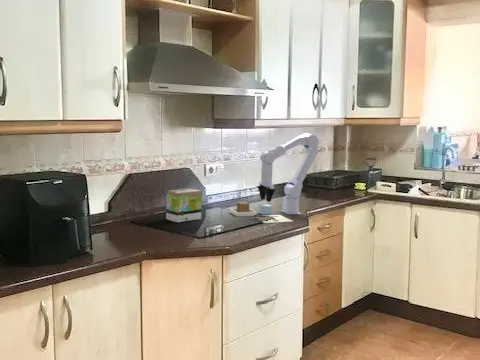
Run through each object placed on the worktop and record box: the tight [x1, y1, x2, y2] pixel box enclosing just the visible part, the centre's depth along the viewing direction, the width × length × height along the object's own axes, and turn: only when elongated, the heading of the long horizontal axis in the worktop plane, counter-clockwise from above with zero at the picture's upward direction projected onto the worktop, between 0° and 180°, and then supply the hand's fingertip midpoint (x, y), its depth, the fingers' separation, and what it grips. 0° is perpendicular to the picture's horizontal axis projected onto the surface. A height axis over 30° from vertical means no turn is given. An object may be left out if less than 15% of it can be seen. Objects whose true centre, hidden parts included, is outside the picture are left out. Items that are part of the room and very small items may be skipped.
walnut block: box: [236, 201, 250, 212], centre depth 297 cm, size 5×5×6 cm
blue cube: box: [258, 203, 273, 216], centre depth 299 cm, size 5×5×5 cm
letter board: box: [262, 214, 293, 224], centre depth 287 cm, size 16×16×1 cm
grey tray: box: [229, 207, 258, 218], centre depth 297 cm, size 11×11×2 cm
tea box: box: [165, 187, 203, 223], centre depth 281 cm, size 15×10×15 cm
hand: (265, 200), depth 299 cm, fingers open, 7 cm apart
